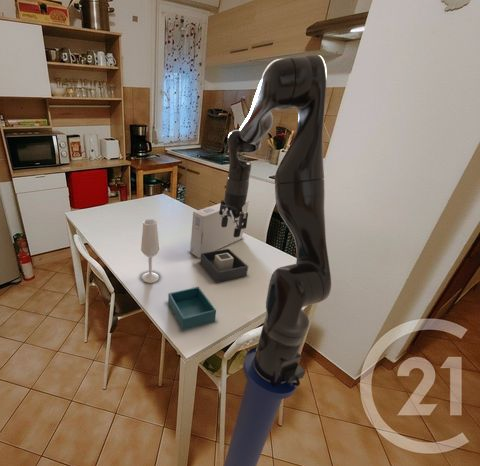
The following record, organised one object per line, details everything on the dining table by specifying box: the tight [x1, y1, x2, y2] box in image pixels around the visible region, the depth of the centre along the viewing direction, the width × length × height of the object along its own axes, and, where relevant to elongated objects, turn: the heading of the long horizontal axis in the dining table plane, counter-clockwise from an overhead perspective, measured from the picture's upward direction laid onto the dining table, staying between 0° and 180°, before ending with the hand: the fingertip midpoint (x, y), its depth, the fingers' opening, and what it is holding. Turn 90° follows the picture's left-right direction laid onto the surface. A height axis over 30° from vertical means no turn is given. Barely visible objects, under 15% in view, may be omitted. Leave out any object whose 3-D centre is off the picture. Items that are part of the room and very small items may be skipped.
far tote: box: [200, 248, 249, 283], centre depth 107 cm, size 14×13×5 cm
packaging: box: [189, 200, 250, 259], centre depth 121 cm, size 30×6×20 cm, turn 128°
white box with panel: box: [214, 253, 234, 272], centre depth 107 cm, size 4×6×6 cm
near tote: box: [167, 286, 217, 331], centre depth 85 cm, size 12×11×5 cm
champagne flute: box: [140, 218, 160, 284], centre depth 97 cm, size 7×7×24 cm
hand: (229, 231), depth 100 cm, fingers open, 8 cm apart
